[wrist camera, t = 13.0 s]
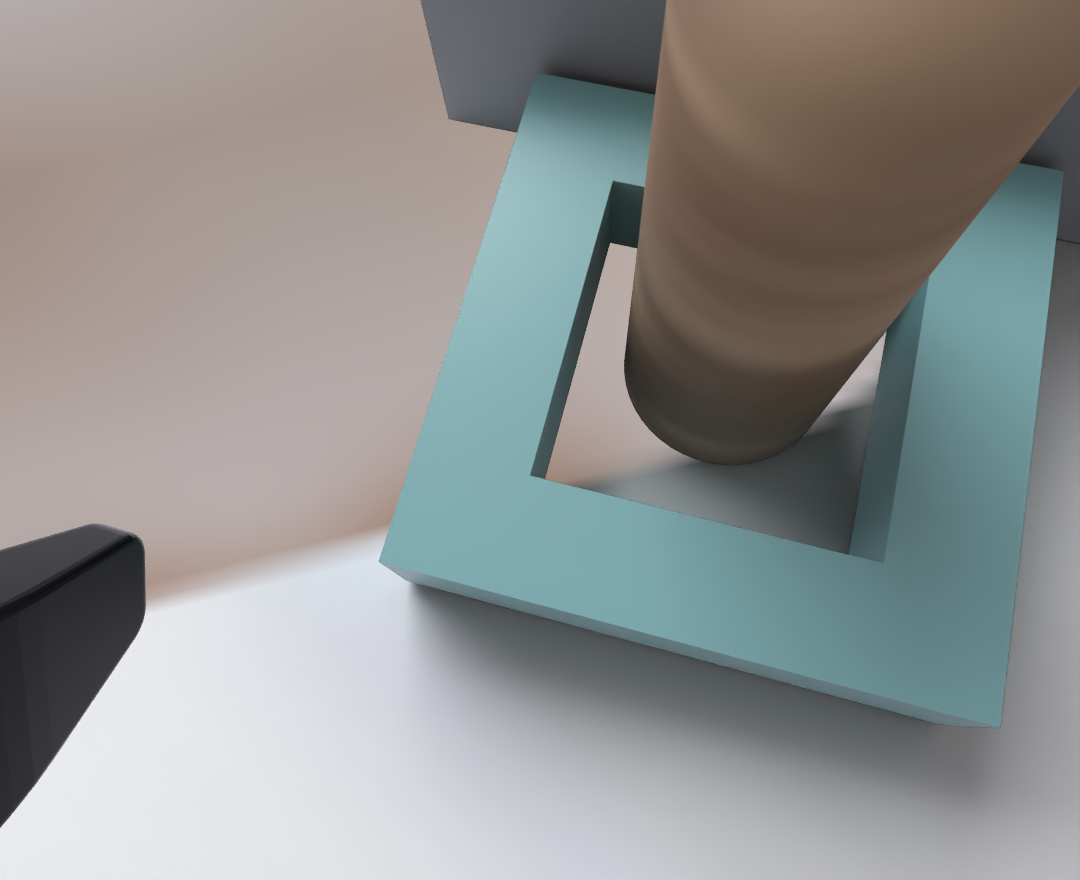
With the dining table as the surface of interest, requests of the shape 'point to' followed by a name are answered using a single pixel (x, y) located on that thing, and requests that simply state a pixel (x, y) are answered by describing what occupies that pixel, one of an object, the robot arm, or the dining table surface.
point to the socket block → (711, 547)
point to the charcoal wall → (618, 67)
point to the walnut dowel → (816, 192)
